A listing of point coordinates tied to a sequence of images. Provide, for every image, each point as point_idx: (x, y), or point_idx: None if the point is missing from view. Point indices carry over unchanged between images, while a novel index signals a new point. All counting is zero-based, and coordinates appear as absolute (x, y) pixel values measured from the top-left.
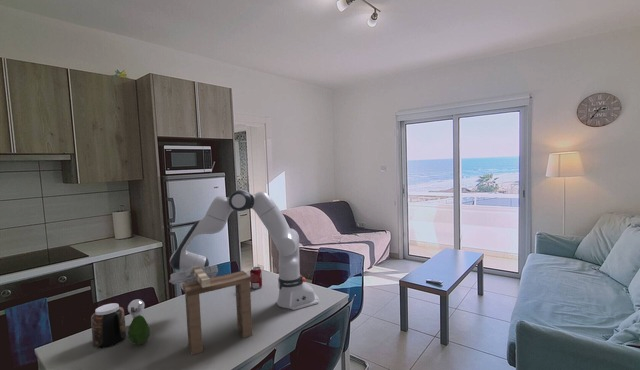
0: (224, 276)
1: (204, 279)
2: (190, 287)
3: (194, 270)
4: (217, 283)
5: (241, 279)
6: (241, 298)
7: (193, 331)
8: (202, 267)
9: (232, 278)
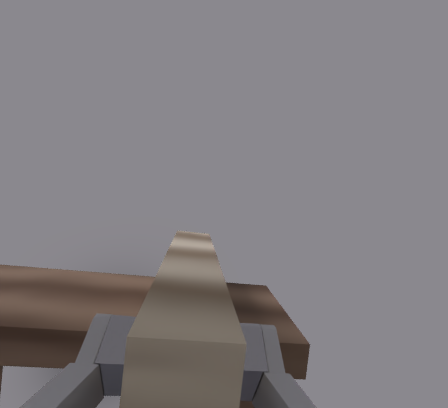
0: (11, 308)
1: (198, 233)
2: (252, 299)
3: (224, 284)
4: (124, 279)
5: (6, 266)
6: (1, 366)
7: None
8: (112, 314)
9: (19, 280)
